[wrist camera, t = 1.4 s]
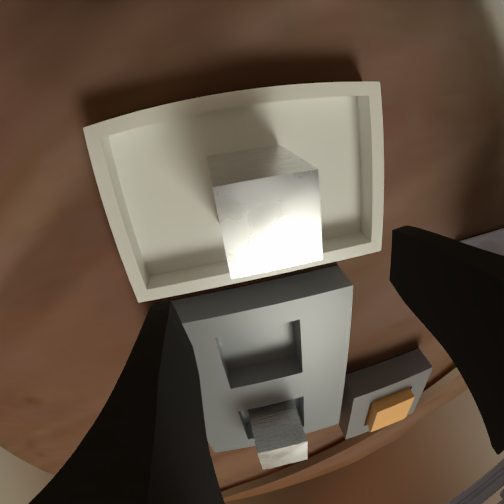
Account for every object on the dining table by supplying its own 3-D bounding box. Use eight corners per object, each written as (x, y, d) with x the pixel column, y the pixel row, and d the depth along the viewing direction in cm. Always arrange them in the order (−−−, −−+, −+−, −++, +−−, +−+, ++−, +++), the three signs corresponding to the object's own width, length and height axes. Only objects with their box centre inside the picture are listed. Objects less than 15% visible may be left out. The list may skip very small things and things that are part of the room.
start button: (402, 376, 29) (414, 396, 26) (394, 398, 31) (405, 417, 29) (365, 390, 29) (377, 412, 26) (360, 411, 31) (370, 432, 28)
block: (289, 386, 27) (307, 441, 21) (291, 408, 29) (307, 459, 23) (245, 396, 26) (257, 453, 21) (251, 418, 28) (263, 469, 23)
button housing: (418, 348, 29) (432, 367, 27) (402, 395, 34) (412, 412, 31) (342, 375, 28) (354, 398, 26) (337, 419, 33) (345, 439, 30)
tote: (362, 81, 16) (379, 81, 14) (367, 237, 21) (381, 250, 20) (94, 123, 15) (82, 127, 13) (142, 284, 20) (138, 302, 18)
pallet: (337, 265, 22) (353, 285, 20) (330, 404, 31) (338, 423, 28) (154, 304, 21) (150, 329, 19) (212, 432, 30) (214, 452, 27)
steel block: (278, 144, 17) (317, 169, 12) (286, 210, 19) (322, 259, 14) (206, 156, 17) (212, 187, 11) (219, 223, 18) (231, 279, 13)
